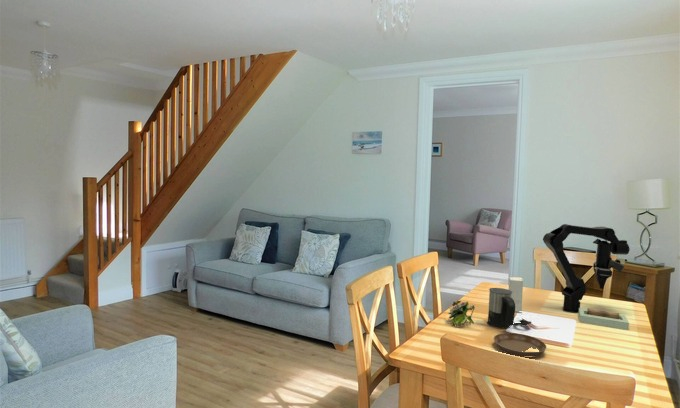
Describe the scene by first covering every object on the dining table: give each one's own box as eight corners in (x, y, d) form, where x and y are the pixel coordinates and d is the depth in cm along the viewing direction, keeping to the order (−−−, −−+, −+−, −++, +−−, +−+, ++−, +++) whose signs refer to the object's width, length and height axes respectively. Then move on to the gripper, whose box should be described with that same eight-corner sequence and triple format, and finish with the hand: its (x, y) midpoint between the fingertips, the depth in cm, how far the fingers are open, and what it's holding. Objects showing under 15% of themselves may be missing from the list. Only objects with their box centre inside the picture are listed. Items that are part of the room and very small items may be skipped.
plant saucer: (519, 363, 150) (520, 354, 150) (482, 343, 166) (483, 335, 166) (557, 356, 157) (557, 348, 157) (518, 338, 173) (519, 330, 173)
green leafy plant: (454, 333, 190) (460, 306, 196) (477, 335, 183) (483, 308, 188) (440, 322, 184) (447, 295, 190) (464, 324, 177) (470, 296, 182)
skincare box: (521, 313, 204) (524, 281, 203) (507, 311, 206) (510, 279, 205) (520, 307, 212) (522, 277, 211) (506, 306, 214) (509, 275, 213)
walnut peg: (586, 318, 198) (587, 310, 198) (586, 315, 201) (587, 308, 201) (618, 323, 192) (619, 315, 192) (618, 321, 196) (618, 313, 195)
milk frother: (481, 322, 189) (484, 288, 188) (507, 318, 196) (510, 285, 195) (509, 334, 176) (511, 297, 175) (535, 329, 184) (538, 293, 183)
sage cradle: (579, 322, 195) (580, 315, 195) (578, 314, 206) (578, 308, 206) (628, 330, 188) (629, 323, 187) (624, 321, 198) (624, 315, 198)
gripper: (626, 259, 198) (623, 293, 199) (620, 252, 215) (617, 284, 216) (598, 256, 203) (594, 290, 204) (594, 250, 220) (591, 281, 221)
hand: (600, 286), depth 211 cm, fingers open, 9 cm apart
